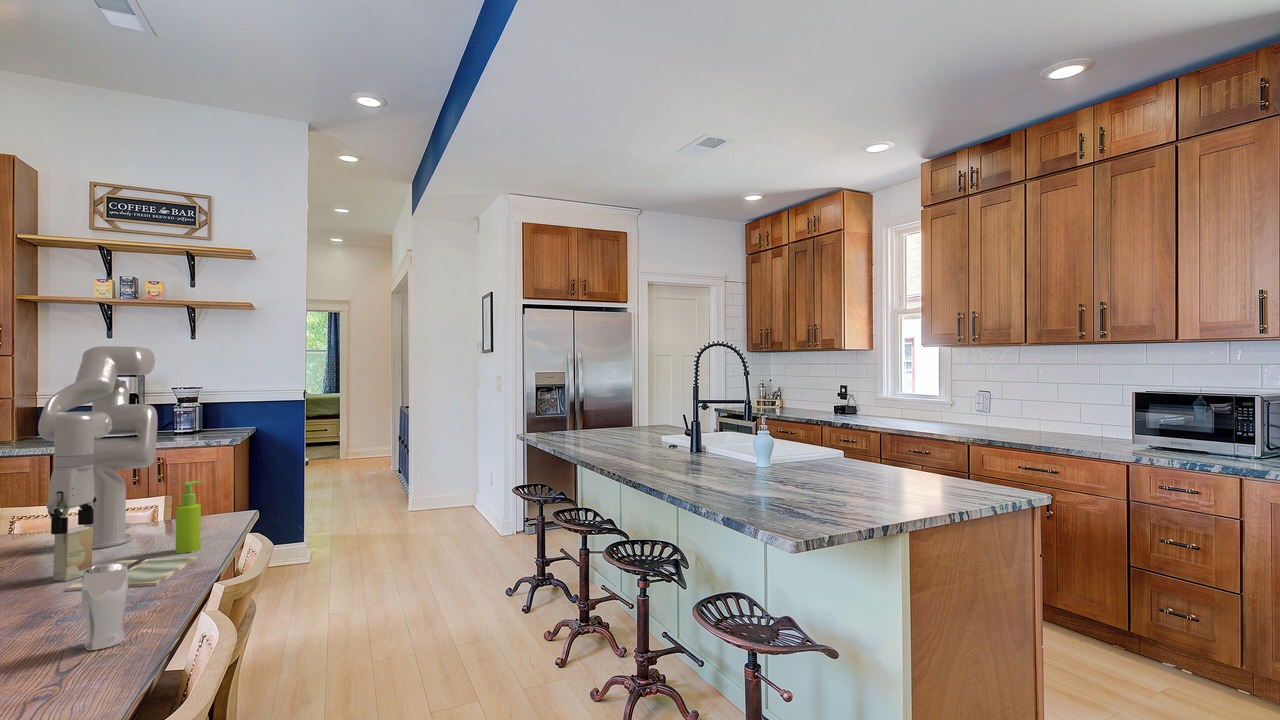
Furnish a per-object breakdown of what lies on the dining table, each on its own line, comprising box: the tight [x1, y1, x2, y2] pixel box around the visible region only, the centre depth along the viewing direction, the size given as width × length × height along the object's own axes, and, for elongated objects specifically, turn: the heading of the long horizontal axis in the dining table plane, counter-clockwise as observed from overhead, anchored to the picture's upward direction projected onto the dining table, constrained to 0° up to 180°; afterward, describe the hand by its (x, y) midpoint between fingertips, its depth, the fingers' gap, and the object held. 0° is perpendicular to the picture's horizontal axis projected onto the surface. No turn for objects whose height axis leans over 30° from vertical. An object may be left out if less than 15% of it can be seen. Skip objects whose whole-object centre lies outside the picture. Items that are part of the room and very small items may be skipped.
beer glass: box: [81, 562, 129, 649], centre depth 120 cm, size 7×7×15 cm
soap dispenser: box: [175, 480, 205, 554], centre depth 179 cm, size 6×7×20 cm
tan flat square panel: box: [65, 556, 197, 592], centre depth 159 cm, size 20×19×1 cm
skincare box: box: [52, 525, 93, 582], centre depth 156 cm, size 6×4×12 cm
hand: (72, 528), depth 156 cm, fingers open, 9 cm apart
